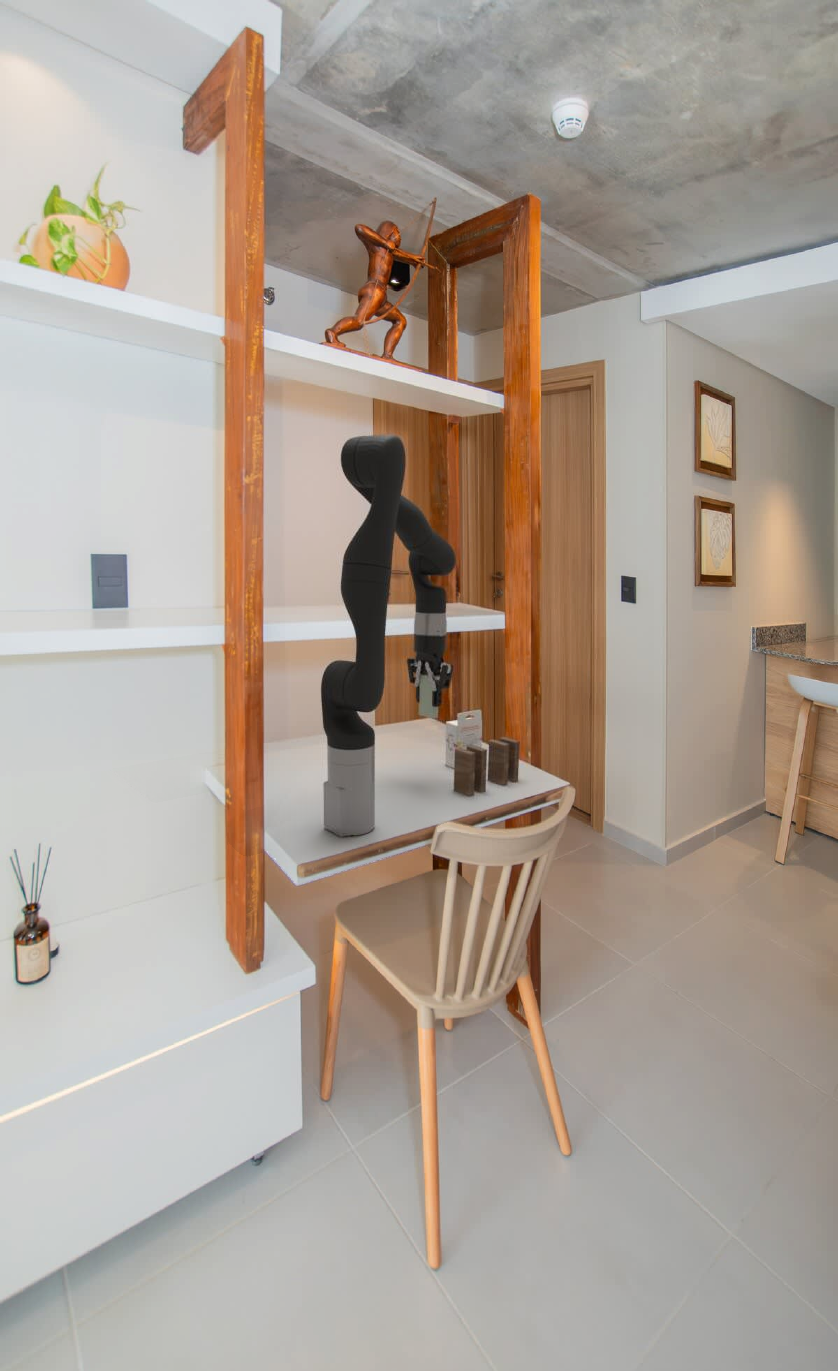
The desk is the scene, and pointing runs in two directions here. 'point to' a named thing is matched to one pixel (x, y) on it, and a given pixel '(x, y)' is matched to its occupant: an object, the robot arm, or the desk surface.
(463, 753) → the domino
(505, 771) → the domino
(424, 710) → the gap domino
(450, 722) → the ink cartridge box
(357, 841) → the desk surface
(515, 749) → the domino
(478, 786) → the domino
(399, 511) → the robot arm
